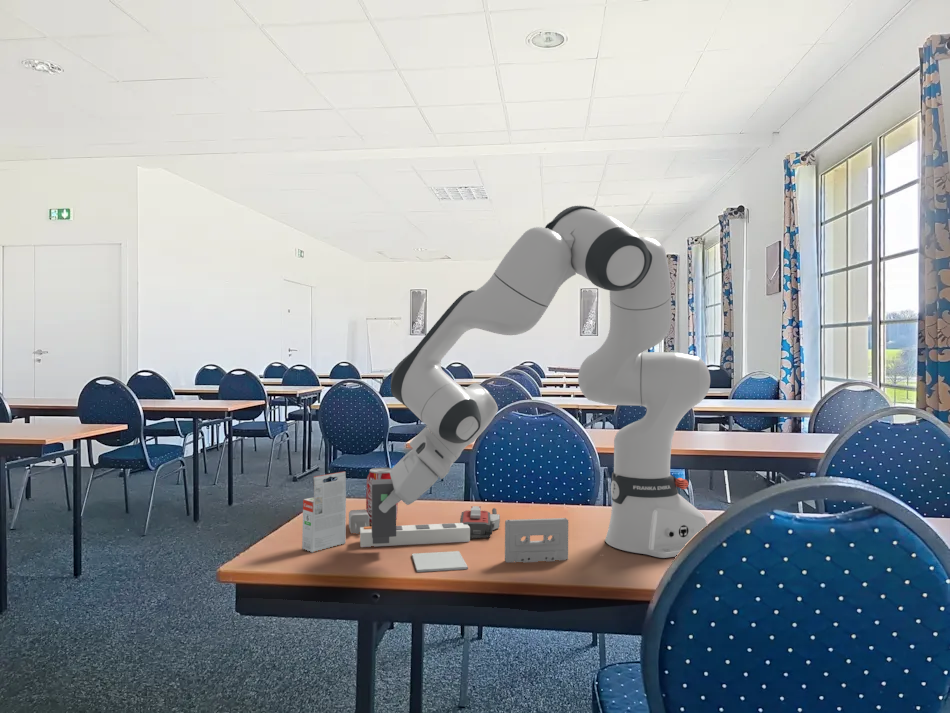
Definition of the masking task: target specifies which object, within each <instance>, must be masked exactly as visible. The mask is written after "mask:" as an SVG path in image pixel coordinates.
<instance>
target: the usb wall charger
mask: <svg viewBox="0 0 950 713" xmlns="http://www.w3.org/2000/svg"><path fill="white" fill-rule="evenodd" d="M369 526H370V522H369V515H368V512H367V511H366V508H365V509H352V510H350V511H349V512H348V528H349V532H350V533H351V534H352V533H356V534H360V533H359V532H360V527H369Z"/></svg>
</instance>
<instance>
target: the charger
mask: <svg viewBox="0 0 950 713" xmlns="http://www.w3.org/2000/svg"><path fill="white" fill-rule="evenodd" d="M393 490H394V487H393V483H392V479H379V480H372V524H371V526H372V538H376V537H394V536H396V526H397V520H396V504H395V505H394V506H392V507H391V508H390V509H389V510H388V511H387V512H386V513H383V512H382V511H381V510H380V509H379V504H380V503H381V502H382V501H383V500H384V499H386V498H387V497H388V496H389V495H390V494H391V492H392V491H393Z"/></svg>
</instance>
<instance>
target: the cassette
mask: <svg viewBox="0 0 950 713" xmlns="http://www.w3.org/2000/svg"><path fill="white" fill-rule="evenodd" d="M531 536H543V537H542V538H543V539H542V540H531ZM550 536H551V538H550V539H549V537H550ZM524 537H525V539H523V538H524ZM522 539H523V540H522ZM566 559H567V560H566ZM568 559H569V519H568V518H566V517H561V518H560V517H559V518H557V517H554V518H532V519H531V518H526V519H524V518H522V519H520V518H519V519H506V520H505V522H504V561H505V563H516V562H523V563H539V562H538V561H546V562H556V561H555V560H559V561H568ZM514 561H515V562H514Z"/></svg>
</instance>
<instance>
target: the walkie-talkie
mask: <svg viewBox="0 0 950 713" xmlns="http://www.w3.org/2000/svg"><path fill="white" fill-rule="evenodd" d="M481 507H482V506H478V505H477V506H476V505H475V506H474V505H472V506H470V510H465V511H464V510H463V511H461V515H460V519H459V520H460V522H459V523H463V524H468V526H469V527H470V535H474V534H485V535H487V538H486V539H488V538H491V535H493V531H494V530H496V529H499V528H500V522H501V520H500V519H501V518H500V517H501V516H500V514H497V513H498V512H497V511H498V510H497V508H495V507H493V508H492V510H491V512H489V511H487V510H481Z"/></svg>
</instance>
